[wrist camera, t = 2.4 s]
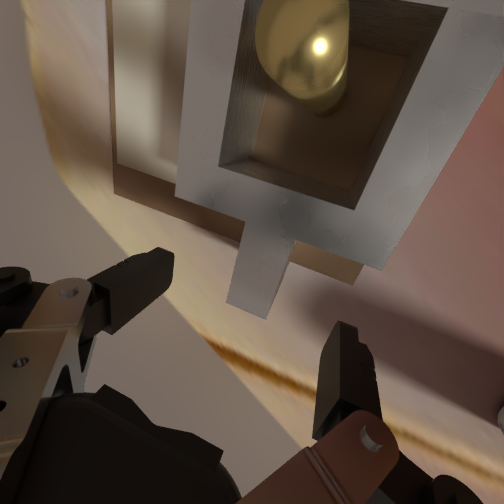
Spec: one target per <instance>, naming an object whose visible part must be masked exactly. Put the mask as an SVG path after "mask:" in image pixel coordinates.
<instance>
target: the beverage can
mask: <svg viewBox="0 0 504 504" xmlns="http://www.w3.org/2000/svg"><path fill="white" fill-rule="evenodd" d="M498 425H499V427H500V429H501V431H502V432H503V434H504V406H503V407H502V409H501V410H500V412H499V414H498Z"/></svg>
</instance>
